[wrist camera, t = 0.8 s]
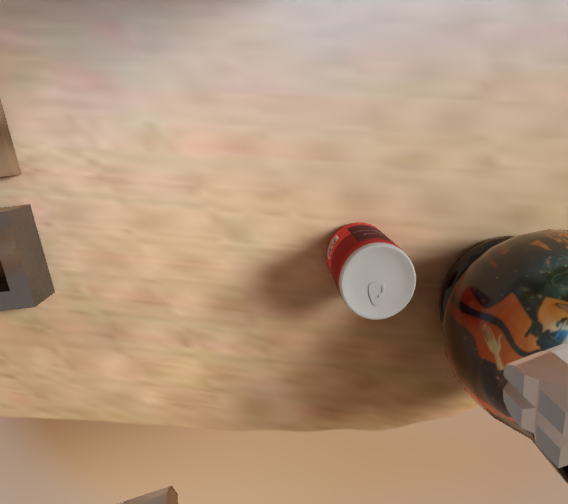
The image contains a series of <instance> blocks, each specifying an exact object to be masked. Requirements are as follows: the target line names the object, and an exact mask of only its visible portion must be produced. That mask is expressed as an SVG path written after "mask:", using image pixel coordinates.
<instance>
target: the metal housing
mask: <svg viewBox="0 0 568 504" xmlns="http://www.w3.org/2000/svg"><path fill="white" fill-rule="evenodd" d="M0 260H1V264H2V267H3V270H4V273H5V276H6V279H7V281H0V311H4V310H13V309H21V308H29V307H36V306H37V305H38V304H40V303H41V302H42V301H44V300H45V299H46V298H48V297H49V296H50V295H52V294H53V293H55V291H54V288H53V284H52V281H51V277H50V273H49V270H48V266H47V263H46V259H45V256H44V252H43V249H42V245H41V242H40V238H39V235H38V231H37V228H36V224H35V221H34V217H33V214H32V210H31V207H30V204H29V205H20V206H12V207H4V208H0Z"/></svg>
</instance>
